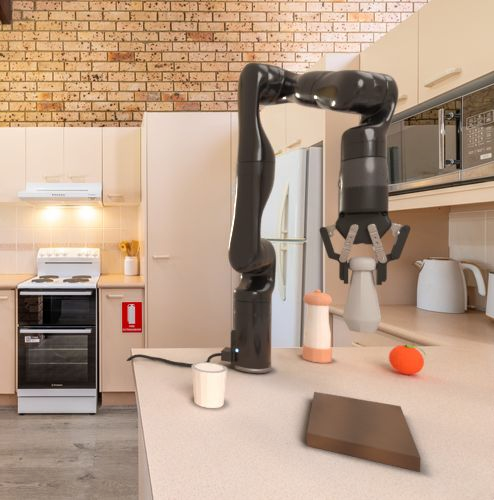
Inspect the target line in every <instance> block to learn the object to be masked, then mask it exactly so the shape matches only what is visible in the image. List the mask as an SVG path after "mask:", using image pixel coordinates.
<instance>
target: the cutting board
mask: <svg viewBox="0 0 494 500" xmlns="http://www.w3.org/2000/svg"><path fill="white" fill-rule="evenodd" d="M308 418H309V419H308V424H307V431H306V446H307V447H311V448H315V449H320V450H323V451H329V452H333V453H337V454H341V455H346V456H350V457H351V456H352V457H354V458H359V459H364V460H368V461H372V462H376V463H380V464H385V465H390V466H394V467H397V468H402V469H407V470H411V471H415V472H421V455H420V452H419V450H418V448H417V445H416V441H415V439H414V437H413V434H412V432H411V430H410V427H409V425H408V422H407V420H406V417H405V414H404V411H403V409H402V406H401V405H395V404H392V403H391V404H389V403H384V402H378V401H372V400H366V399H360V398H354V397H349V396H343V395H337V394H330V393H324V392H318V391H314V392H313V395H312V402H311V409H310V413H309V417H308Z"/></svg>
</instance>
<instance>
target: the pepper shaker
mask: <svg viewBox="0 0 494 500" xmlns="http://www.w3.org/2000/svg"><path fill="white" fill-rule="evenodd" d="M303 302H304V304H306V309H305V310H306V312H305V313H306V314H305V316H306V317H305V323H304V324H305V325H304V329H303V344H302V347H301V348H302V350H301V351H302V352H301V353H302V354H301V355H302V359H304V360H306V361H308V362H314V363H319V364H320V363H323V364H326V363H327V364H328V363H332V361H333V347H332V346H331V345H332V334H331V333H332V332H331V326H330V321H329V320H330V318H329V317H330V315H329V314H330V313H329V312H330V309H329V307H330V305H331V304H332V302H333V299H332V296H331V295H330V294H328V293H326V292H322V291H321V289H314V291H312V292H311V291H310V292H307V293H305V294H304V296H303Z"/></svg>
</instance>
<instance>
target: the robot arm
mask: <svg viewBox="0 0 494 500" xmlns="http://www.w3.org/2000/svg"><path fill="white" fill-rule="evenodd" d="M236 90H237V91H236V95H237V96H236V97H237V99H236V100H237V124H238V125H237V151H236V162H235V176H234V177H235V178H234V179H235V181H234V182H235V185H234V186H235V187H234V198H233V199H234V200H233V214H232V223H231V230H230V236H229V242H228V249H227V259H228V262H229V265H230V267H231V268H232V269H233V271H235V272H236V273H239V274H240V280H239V282H238V284H237V285H236V286H235V287H234V288H233V291H232V295H233V296H232V329H231V330H230V347H229V346H225V347H224V348H222V350H220V352H217V353H212V354H211V355H209V356H208V357H207V359H206V361H205V362H208V363H211V360H212V359H213V358H216V357H220V361H221V362H228V363H230V367H229V368H230V369H234V370H237V371H240V372H243V373H247V374H248V373H249V374H267V373H270V372H272V319H273V318H272V317H273V316H272V314H273V313H272V312H273V311H272V310H273V309H272V307H273V306H272V305H273V303H272V300H273V293H274V290H275V287H276V276H277V275H276V273H277V253H276V249H275V247H274V244H273V243H272V242H271V241H270V240H268V239H267V238H265V237H262V236H261V235H262V218H263V214H264V211H265V208H266V207H267V206H266V205H267V203H268V201H269V198H270V196H271V194H272V191H273V188H274V185H275V176H276V153H275V150H274V148H273V145H272V143H271V140H270V139H269V137H268V135H267V133H266V132H265V129H264V127H263V123H262V121H261V113H260V106H264V107H270V106H271V107H272V106H277V105H286V104H296V105H298V106H302V107H305V108H309V109H310V108H311V109H316V110H326V111H327V110H328V111H330V112H335V113H341V114H349V115H356V116H357V115H358V116H360V117H359V123H358V124H357V125H355V126H352V127H350V128H347V129H345V130H344V131H343V133H341V136H340V141H339V159H340V160H339V170H338V177H337V198H338V199H337V219H336V220H335V222H334V224H331V225H328V226H320V227H319V234H320V236H321V240H322V243H323V247H324V248H325V252H326V255H327V258H328V259H331V260H333V261H336V262H338V264H339V265H338V266H339V267H338V278H339V280H340V281H343V284H344V285H349V268H348V258H349V255H350V252H351V250H352V247H353V245H360V244H363V245H371V247H372V250H373V252H374V254H375V258H376V261H377V268H376V270H375V286H382V285H383V283H385V282H386V281H387V279H388V278H387V276H388V274H387V273H388V264H389V262H392V261H396V260H399V259H400V258H401V255H402V253H403V250H404V248H405V245H406V243H407V239H408V237H409V234H410V232H411V226H410V225H408V224H403V225H402V224H397V223H394V222H392V220H391V218H390V216H389V191H390V190H389V189H390V188H389V187H390V186H389V185H390V178H389V176H390V175H389V174H390V173H389V166H388V133H389V131H390V128H391V125H392V121H393V117H394V115H395V112H396V108H397V105H398V100H399V86H398V83H397V82H396V80H395V78H394V77H392V75H389V74H387V73H382V72H375V71H367V70H359V69H343V70H342V69H341V70H337V71H336V70H311V71H306V72H303V73H298V72H293V71H290V70H288V69H286V68H283V67H281V66H278V65H274V64H269V63H268V64H267V63H261V62H255V61H254V62H249V63H247V64H245V65H244V66H243V68H242V69H241V72H240V74H239V77H238V81H237V88H236ZM335 230H336V231H337V232H338V233H339V234H340V236H341V237H342V238H343V239H344V243H343V246H342V248H341V251H340V253H337V252H336V251H335V250H334V246H333V244H332V241H331V238H332V237H334V232H335ZM389 230H392V236H393V237H395V240H394V242H393V245H392V248H391V250H390V253H385V249H384V246H383V242H382V240H381V239H382V238H383V237H384V236H385V235H386V234H387V233H388V231H389ZM136 358H143V359H148V360H152V361H157V362H163V363H166V364H168V365H173V366H180V367H187V368H192V365H193V364H194V363H187V362H181V361H173V360H170V359H166V358H162V357H158V356H157V357H156V356H151V355H146V354H141V353H139V354H133V355H131V356H129V357H128V358H127V359H126V362H131V361H132V360H134V359H136Z"/></svg>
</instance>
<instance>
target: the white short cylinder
mask: <svg viewBox="0 0 494 500" xmlns="http://www.w3.org/2000/svg"><path fill="white" fill-rule="evenodd" d="M192 364H193V365H192V367H191V375H192V376H191V377H192V388H193V389H192V390H193V402H194V404H196V405H197V406H199V407H202V408H206V409H218V408H221V407H223V406H224V402H225V394H226V386H227V385H226V384H227V374H228V368H227V367H226V366H225V365H223V364H220V363H216V362H209V363H208V362H206V361H204V362H196V363H192Z"/></svg>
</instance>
